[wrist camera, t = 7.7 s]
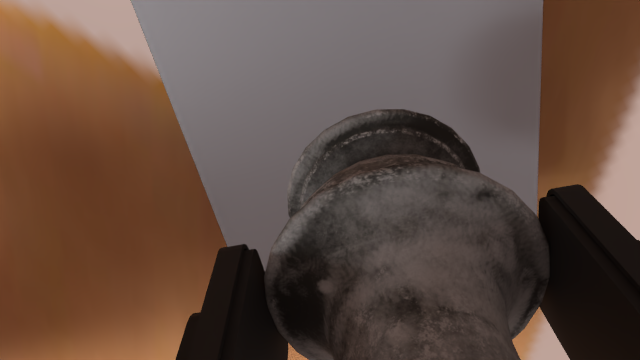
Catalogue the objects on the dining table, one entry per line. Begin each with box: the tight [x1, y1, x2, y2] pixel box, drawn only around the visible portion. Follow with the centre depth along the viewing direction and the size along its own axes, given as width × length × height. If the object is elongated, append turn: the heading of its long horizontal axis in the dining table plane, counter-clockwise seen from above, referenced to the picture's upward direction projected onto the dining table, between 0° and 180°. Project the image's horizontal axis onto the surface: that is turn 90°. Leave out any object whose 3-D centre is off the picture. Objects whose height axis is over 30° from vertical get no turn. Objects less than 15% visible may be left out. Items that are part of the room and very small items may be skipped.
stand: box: [131, 0, 543, 271], centre depth 20 cm, size 14×14×4 cm
